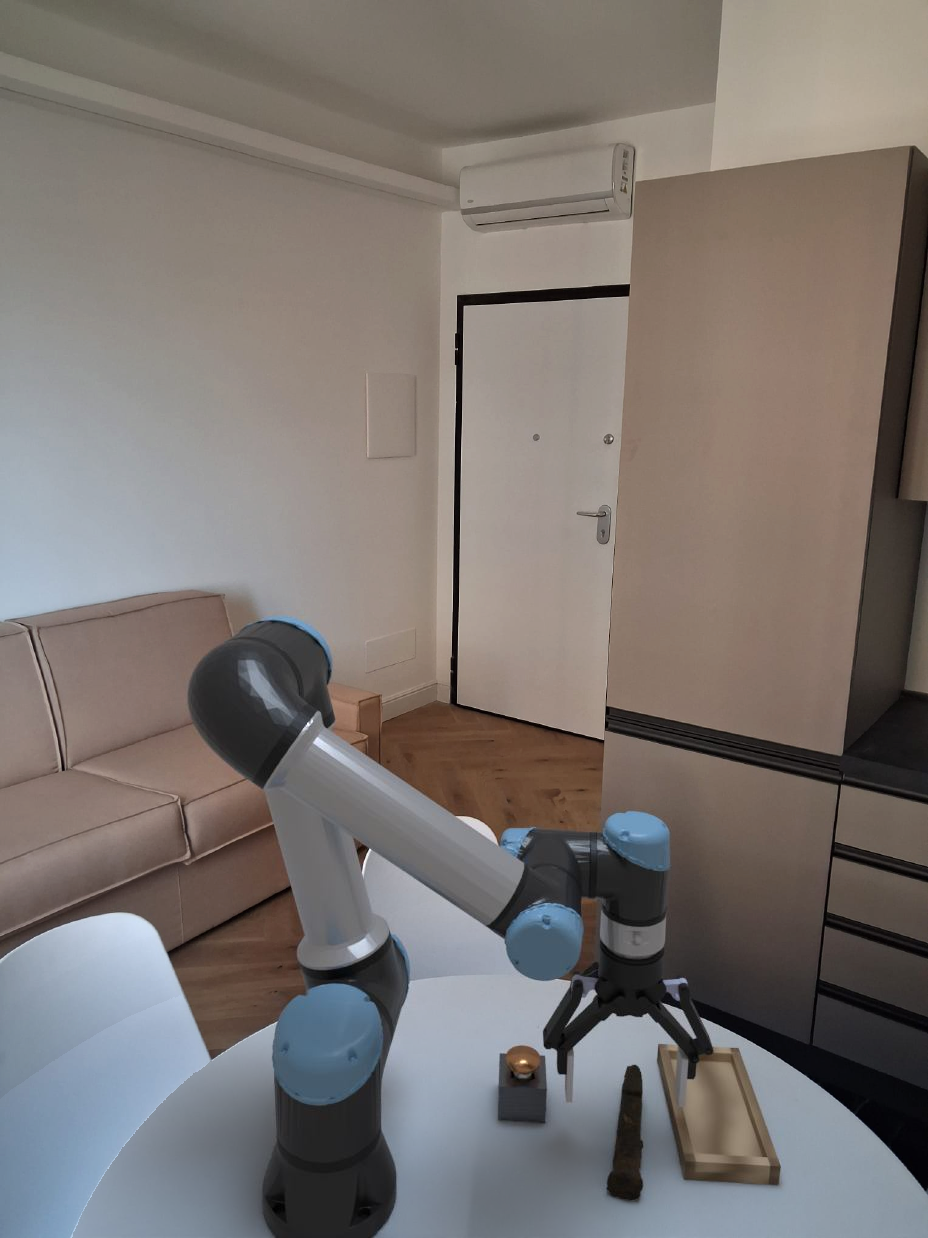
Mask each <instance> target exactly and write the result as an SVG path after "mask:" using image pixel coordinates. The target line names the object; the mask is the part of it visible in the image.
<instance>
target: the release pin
mask: <svg viewBox="0 0 928 1238" xmlns="http://www.w3.org/2000/svg"><path fill="white" fill-rule="evenodd" d="M505 1054H506V1065H507V1067H508V1068H509V1069H510V1070H511V1071H512V1072H513V1079H530V1080H532V1073H534V1072H536V1071H537V1070H538V1069H539V1067H540V1055H541V1054H540V1053H539V1052H538V1050H537V1049H535V1048H534V1047H532V1046H528V1045H524V1044H523V1045H522V1044H521V1045H520V1044H519V1045H515V1046H512V1047H511V1048H509V1049H508V1050H507V1052H506V1053H505Z"/></svg>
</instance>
